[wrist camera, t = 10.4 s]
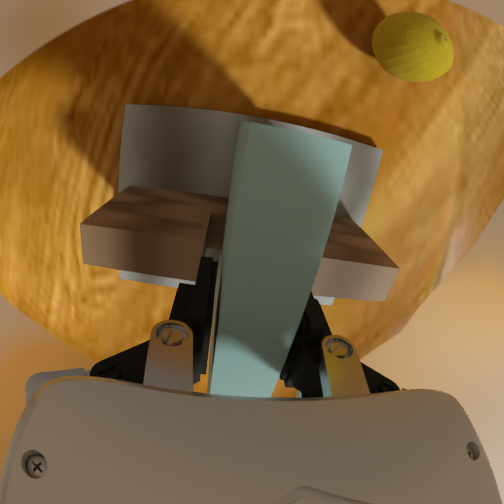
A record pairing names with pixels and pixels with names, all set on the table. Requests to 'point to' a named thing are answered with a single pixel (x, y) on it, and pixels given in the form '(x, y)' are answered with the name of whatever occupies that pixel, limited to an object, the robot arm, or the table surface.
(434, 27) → the lemon
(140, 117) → the base
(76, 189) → the table surface
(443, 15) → the table surface
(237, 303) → the notched plate
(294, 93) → the table surface
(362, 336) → the table surface
